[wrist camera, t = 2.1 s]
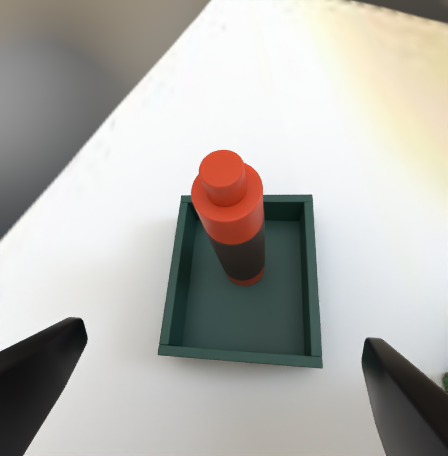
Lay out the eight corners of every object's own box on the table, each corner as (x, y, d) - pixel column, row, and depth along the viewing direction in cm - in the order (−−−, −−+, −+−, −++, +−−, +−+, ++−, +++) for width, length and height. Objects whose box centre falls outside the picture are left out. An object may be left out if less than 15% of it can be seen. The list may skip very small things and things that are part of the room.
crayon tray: (312, 366, 19) (322, 368, 16) (175, 355, 21) (157, 355, 17) (305, 217, 24) (312, 194, 20) (192, 217, 25) (181, 195, 22)
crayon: (263, 289, 21) (260, 206, 10) (222, 285, 22) (172, 202, 10) (266, 249, 23) (266, 134, 11) (227, 247, 23) (187, 134, 11)
